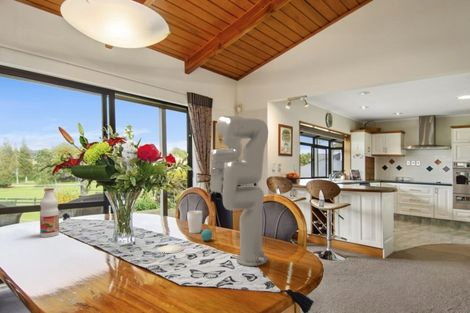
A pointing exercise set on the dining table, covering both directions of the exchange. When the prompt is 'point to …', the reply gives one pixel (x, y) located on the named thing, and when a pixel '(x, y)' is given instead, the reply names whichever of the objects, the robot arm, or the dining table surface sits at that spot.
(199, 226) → the cup
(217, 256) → the dining table surface
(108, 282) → the dining table surface
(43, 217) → the fruit juice
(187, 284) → the dining table surface
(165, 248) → the cream rounded object
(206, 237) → the ball
